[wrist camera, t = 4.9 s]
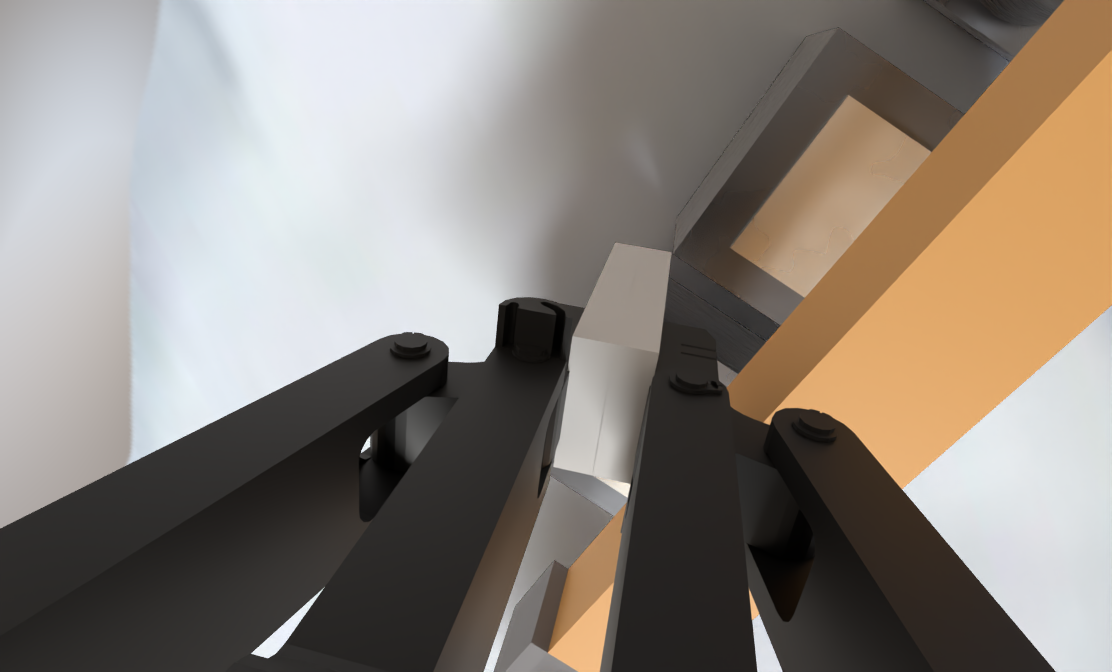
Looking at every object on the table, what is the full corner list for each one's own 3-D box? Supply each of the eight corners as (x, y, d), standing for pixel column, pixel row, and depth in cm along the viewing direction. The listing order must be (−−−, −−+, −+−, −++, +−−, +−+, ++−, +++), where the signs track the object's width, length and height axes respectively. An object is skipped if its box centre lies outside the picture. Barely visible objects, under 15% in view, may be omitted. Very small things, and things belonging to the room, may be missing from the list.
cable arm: (1341, -391, 9) (1609, -579, 7) (1572, -213, 10) (1922, -325, 7) (509, 603, 20) (480, 687, 17) (627, 676, 20) (616, 770, 17)
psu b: (818, 376, 25) (848, 449, 20) (707, 493, 28) (710, 581, 23) (645, 261, 24) (633, 308, 20) (551, 393, 27) (521, 461, 22)
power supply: (1008, 175, 21) (1100, 207, 16) (855, 337, 24) (895, 403, 19) (806, 36, 20) (840, 26, 16) (676, 217, 23) (672, 255, 19)
